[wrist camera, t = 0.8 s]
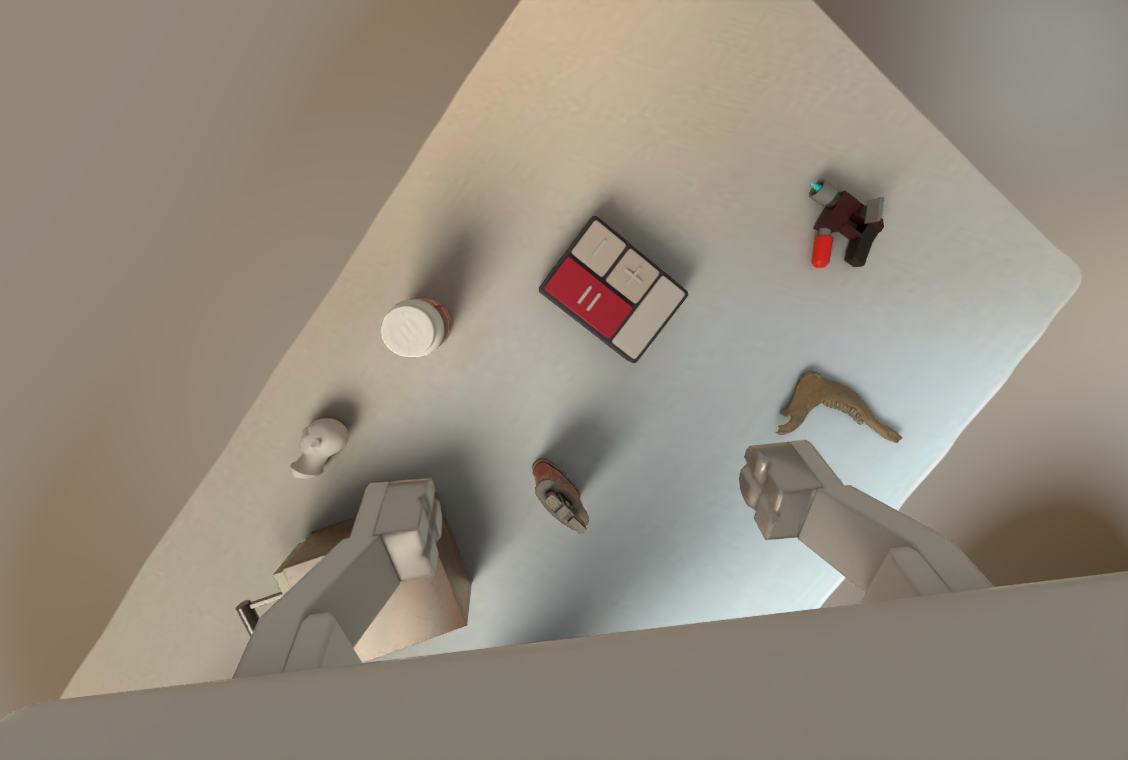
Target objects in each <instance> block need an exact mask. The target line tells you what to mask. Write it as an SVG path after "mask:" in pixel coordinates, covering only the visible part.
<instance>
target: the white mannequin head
mask: <svg viewBox="0 0 1128 760" xmlns="http://www.w3.org/2000/svg"><path fill="white" fill-rule="evenodd" d="M302 433H303V436H302V438H301V442H300V444H299V447H300V449H301V450H302V452H303V454H302V455H301V457H300V458H299V459H298V460H297V461H296V462H293V463H292V464H291V473H292V475H293V476H294V477H296V478H299V479H312V478H314V477H316V476H318V475H320V474H322V473H323V467H324V464H325V462H326V460H327V459H328V457H329V456H331V455H333V454H335V453H337V452H339V451H340V450H341V449H342V448H343V447H344V446H345V445H346V443H347V441H348V437H349V434H348V430H347V428H346V427H345V426H344V425H343V424H342V423H341V422H339V421H337V420H335V419H329V418H326V419H318V420H315V421H313V422H312V423H311V424H310V425H309V427H307V428H305V429H304V430H303V432H302Z"/></svg>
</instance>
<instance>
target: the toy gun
mask: <svg viewBox="0 0 1128 760" xmlns="http://www.w3.org/2000/svg"><path fill="white" fill-rule="evenodd" d="M811 184H812V186H813V188H812V189H811V191H810V193H809V196H810V197H811V198H812V199H814V200H815V201H816V202H818V203H819V204H821V205H822V206H826V208H825V209H824V211H823V213H822V214H821V216H820V218H819V219H818V221H817V223H816V224H815V226H814V227H813V229H816V230H819V235H818V236H816V237H815V242H814V249H813V255H812V264H813V266H815V267H817V268H823V267H825V266H827V265H828V263H829V261H830V255H831V249H832V243H833V237H832V236H831V233H832V232H839V233H841V234H842V235H844V236H845V237H846V238H848V239H849V240H850V243H849V245H848V248H847V251H846V254H845V257H844V260H845V261H846V262H847V263H849V264H850V265H852V266H853V267H861V266H864V265H865V262H866V259H867V257H868V254H869V251H870V248H871V245H872V242H873V241H874V239H875V238H876V236H877V234H878V233H879V232H881V231H882V229H883V228H884V223H883V219H882V218H881V215H882V208H883V201H884V197H880V198H876V199H872V200H868V201H867V205H866V206H865V205H863V204H862V203H861V202H859V201H858V200H857V199H856V198H854V197H853V196H852V195H850V194H849V193H848V192H846V191H842V192H838V188H836V187H835V186H834V185H832V184H831V183H830V182H828V181H827V180H826V179H822V180H820V181H819V182H817V183H816V184H814V183H811ZM848 220H851V221H852V222H854V223H855V224H856V225H857V227H856V228H855V229H854V228H853V227H851V226H850V225H849V224H847V222H848Z"/></svg>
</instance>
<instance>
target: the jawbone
mask: <svg viewBox="0 0 1128 760" xmlns="http://www.w3.org/2000/svg"><path fill="white" fill-rule="evenodd" d="M820 403H823V405H825V406H827V407H831V408H832V407H833V408H834V409H838V410H841V411H842V412H845V413H849V415H850V416H851V417H853V419H854V421H857V422H858V424H860V425H861V424H862V423H863V422H865V423H866V424H867V425H869V426H870V427H871V428H873V429H874V430H875V431H876V432H878V433H879V434H880V435H881V436H883V437H884V438H886V439H888V440H890V441H893V442H896V443H898V442H899V440H901V439H902V437H901V436H900V435H899V434H898V433H896V432H895V431H893V430H891V429H890V428H888V427H886V426H884V425H883V424H882V423H880V422H879V421H878V420H877V419H876V418H875V416H874V415H873V414H872V412H871V411H870V409H869V408H868V406H867V405H866V404H865V402H864V401H863V400H862V399H861V398H860V397H859V396H858V395H857V394H856V393H855V392H854V391H852V390H851V389H849V388H848V387H846V386H844V385H842V384H840V383H837V382H835V381H831V380H827V379H824V378H822V377H821V376H820V375H819V374H818V373H817V372H807V373H805V374H803V376H802V377H801V378H800V380H799V381H798V384H797V388H796V391H795V394H794V398H793V400H792V402H791V403H790V405H789V406H788V407H787V409H785V410H783V411H780V414H781V415H784V416H786V417H788V416H791V419H790V421H789V422H788V423H787V424H784V425H781V426H778V427H779V430H778V432H775V433H777V434H779V435H784V434H787V433H790V432H792V431H794V430H795V429H796V428H798V427H799V426H800V424H801V423H802V422H803V421H804V419H805V418H806V416H807V414H808V413H809V412H810V411H811V410H812V409H813V408H814V407H816V406H817V405H819V404H820Z"/></svg>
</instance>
